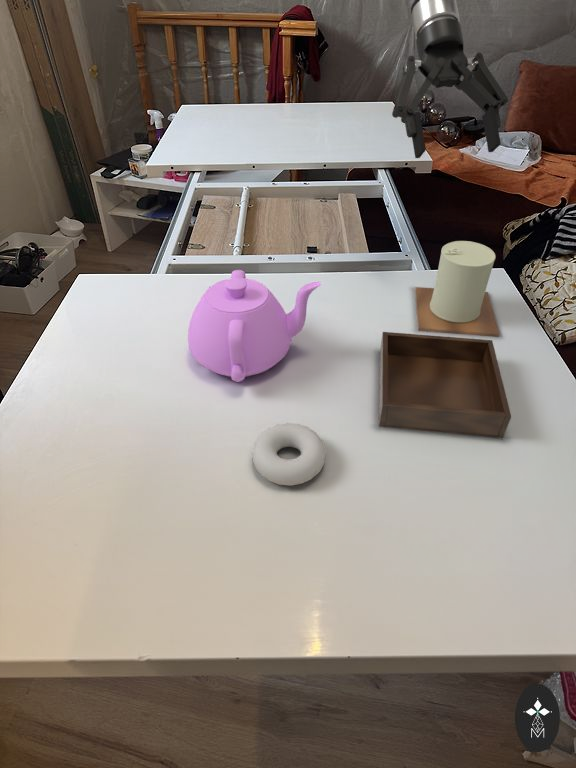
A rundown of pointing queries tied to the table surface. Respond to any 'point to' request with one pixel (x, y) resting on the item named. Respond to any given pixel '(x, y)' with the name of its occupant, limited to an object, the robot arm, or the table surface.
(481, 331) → the coaster
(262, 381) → the table surface
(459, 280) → the can
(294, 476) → the donut
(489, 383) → the tray
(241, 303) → the teapot
